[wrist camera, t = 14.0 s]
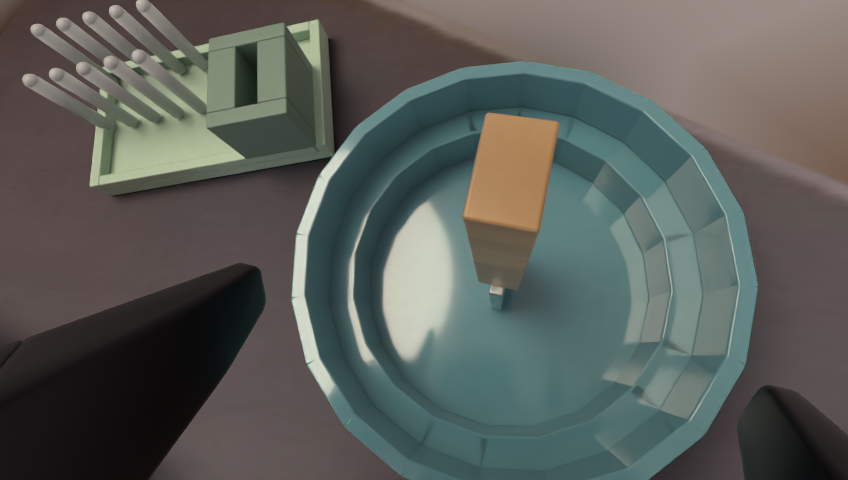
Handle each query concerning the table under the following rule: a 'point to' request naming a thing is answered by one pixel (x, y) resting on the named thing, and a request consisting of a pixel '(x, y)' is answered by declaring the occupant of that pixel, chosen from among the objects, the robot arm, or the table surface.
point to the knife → (507, 198)
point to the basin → (525, 287)
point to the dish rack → (194, 100)
